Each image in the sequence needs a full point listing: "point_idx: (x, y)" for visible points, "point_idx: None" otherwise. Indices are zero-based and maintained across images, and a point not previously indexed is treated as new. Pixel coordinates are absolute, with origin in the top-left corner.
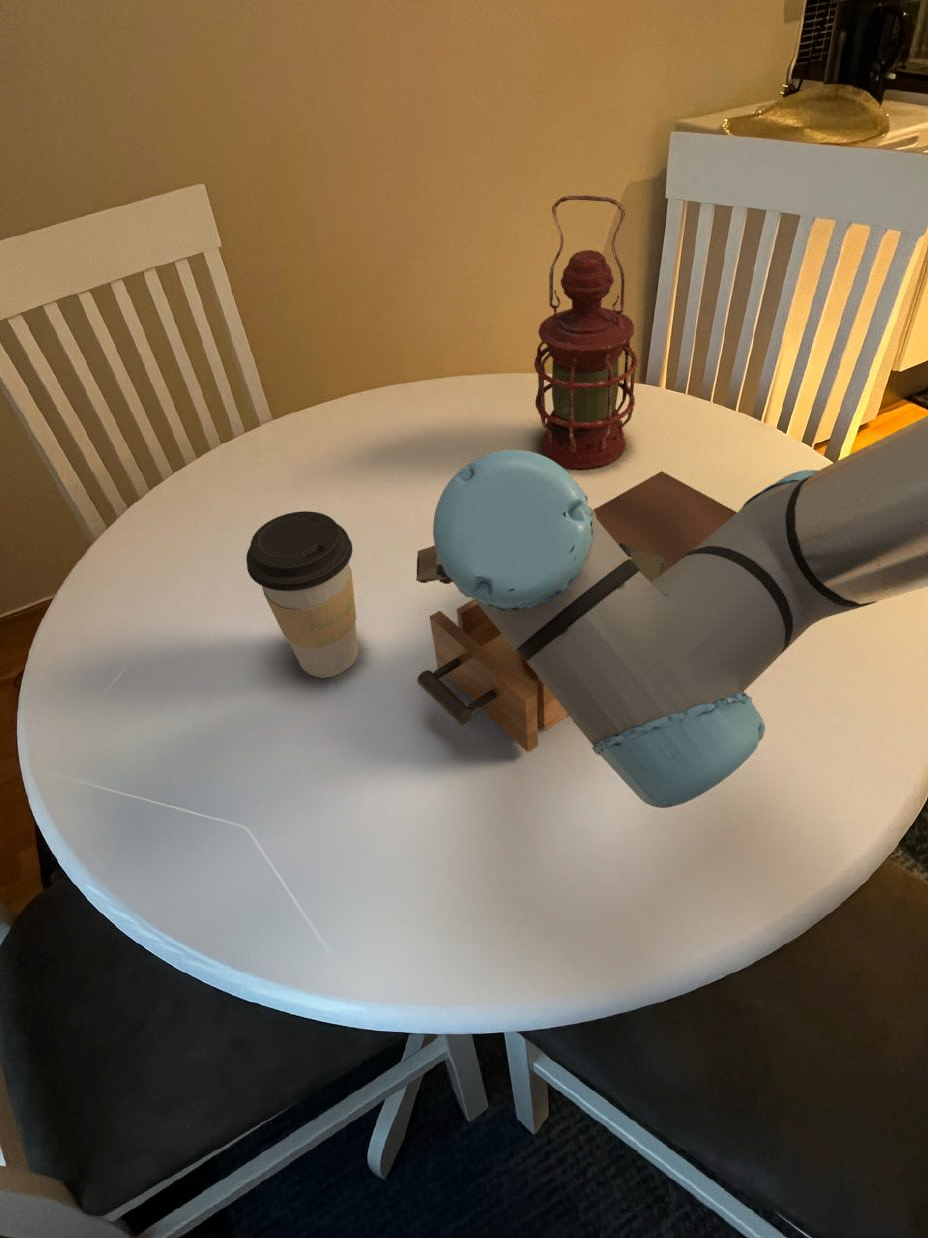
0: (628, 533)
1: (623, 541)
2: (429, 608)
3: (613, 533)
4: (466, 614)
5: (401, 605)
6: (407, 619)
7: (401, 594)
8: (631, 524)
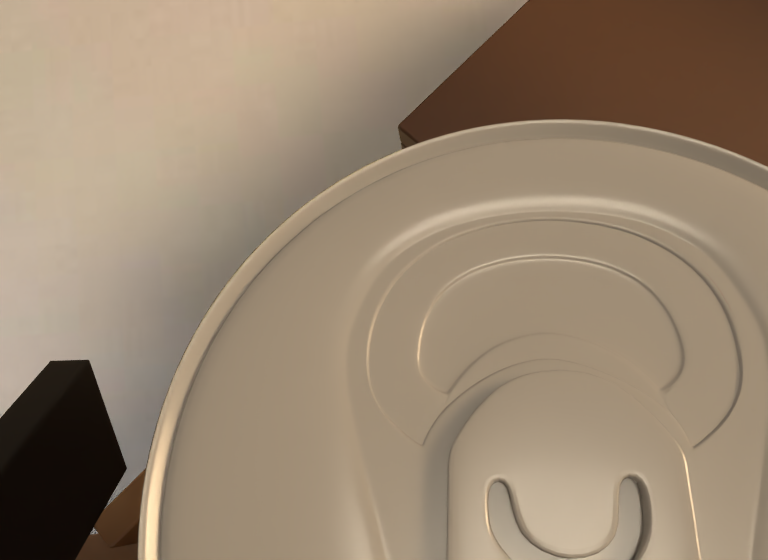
0: (761, 58)
1: (748, 107)
2: (108, 288)
3: (696, 64)
4: (137, 530)
5: (34, 282)
6: (51, 335)
7: (33, 241)
8: (764, 4)
